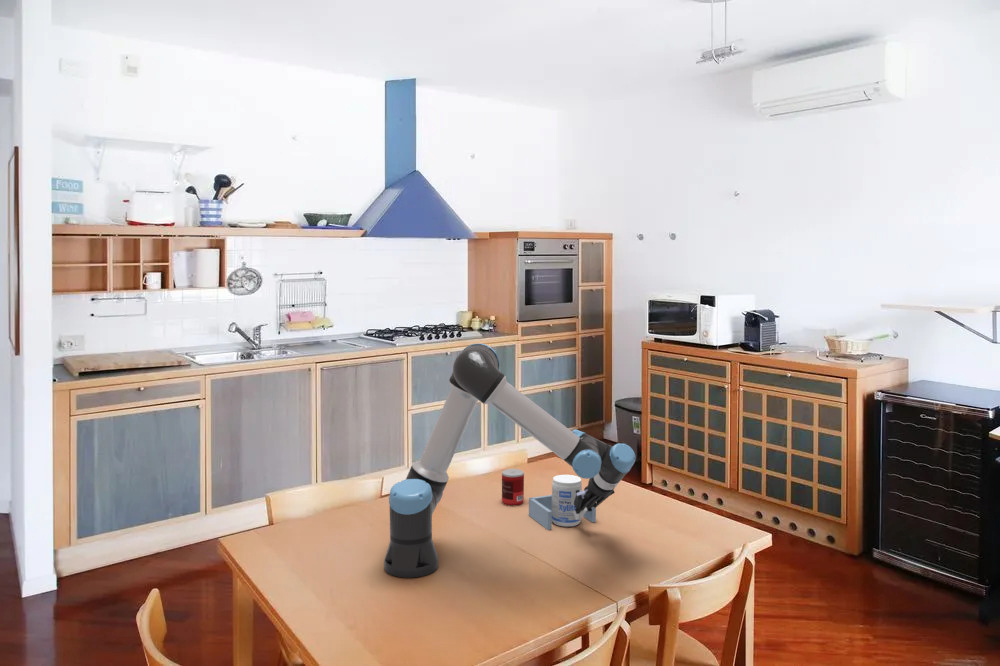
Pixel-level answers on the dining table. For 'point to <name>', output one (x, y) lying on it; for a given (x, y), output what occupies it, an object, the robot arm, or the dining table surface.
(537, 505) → the bay
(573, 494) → the supplement tub
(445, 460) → the robot arm
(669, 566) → the dining table surface
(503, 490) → the canned food
